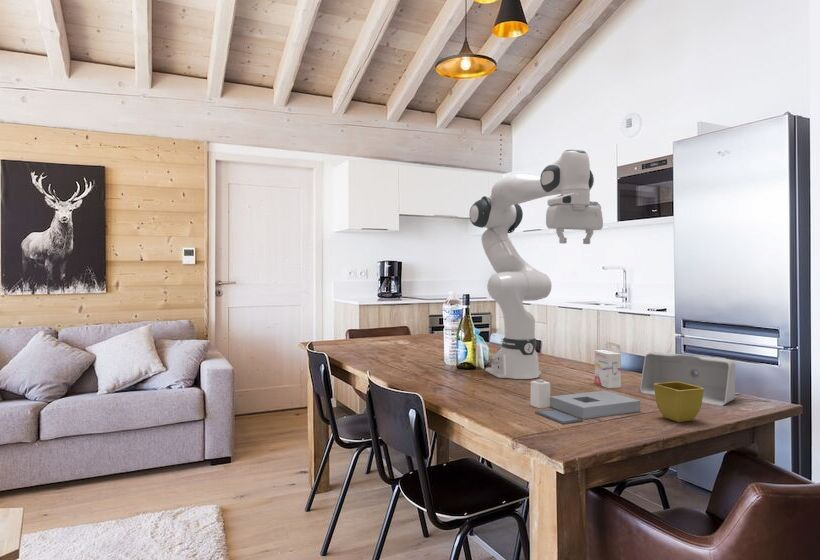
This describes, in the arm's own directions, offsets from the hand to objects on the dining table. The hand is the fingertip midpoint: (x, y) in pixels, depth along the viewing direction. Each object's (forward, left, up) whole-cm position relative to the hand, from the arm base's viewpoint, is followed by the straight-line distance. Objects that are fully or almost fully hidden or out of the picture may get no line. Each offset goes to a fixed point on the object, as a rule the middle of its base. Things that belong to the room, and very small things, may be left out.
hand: (574, 243), depth 173 cm
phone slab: (+21, -23, -49) cm, 58 cm away
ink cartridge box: (-5, +18, -48) cm, 52 cm away
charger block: (+9, -20, -48) cm, 53 cm away
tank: (+16, +32, -48) cm, 60 cm away
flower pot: (+35, +5, -48) cm, 60 cm away
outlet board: (+18, -8, -48) cm, 52 cm away
